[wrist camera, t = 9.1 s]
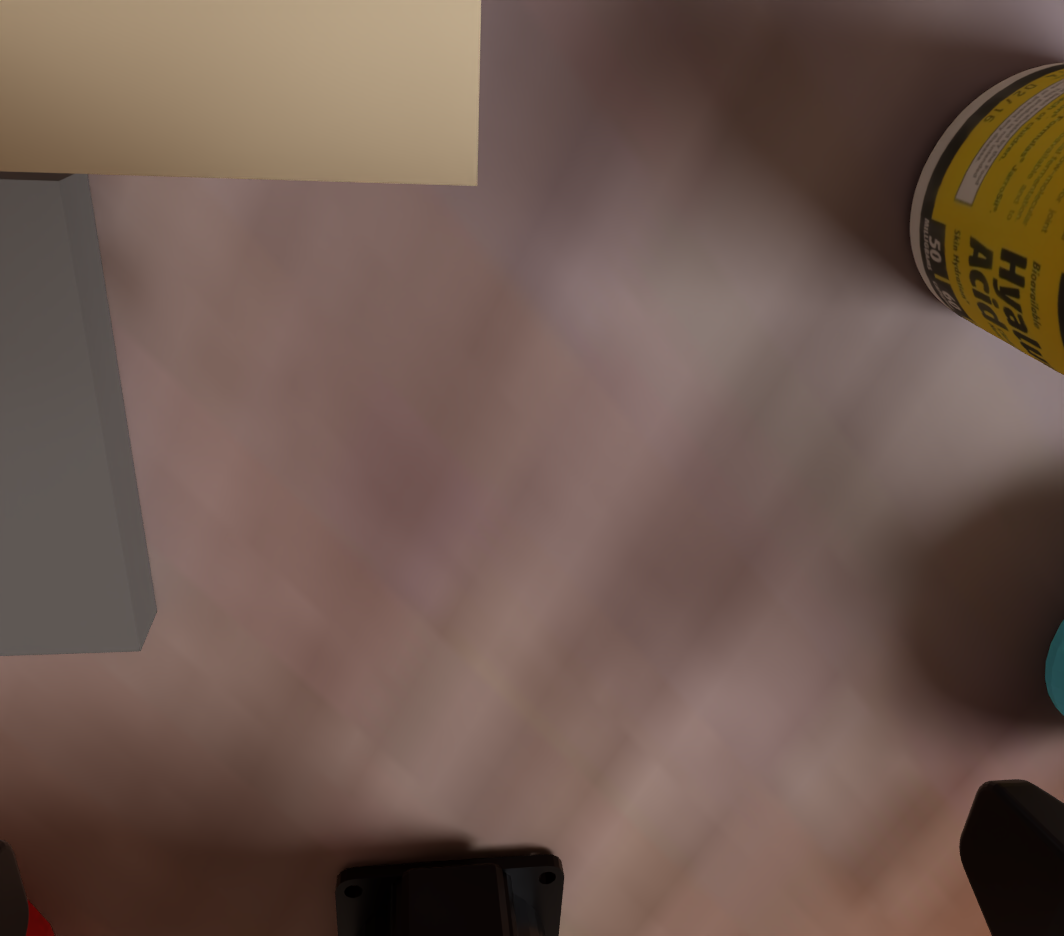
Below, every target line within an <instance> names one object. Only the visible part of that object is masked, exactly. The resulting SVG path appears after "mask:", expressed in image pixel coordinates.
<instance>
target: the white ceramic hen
mask: <svg viewBox="0 0 1064 936" xmlns="http://www.w3.org/2000/svg"><path fill="white" fill-rule="evenodd" d="M27 900H28V899H27ZM28 906H29V921H28V928H27V933H26V936H54V933H53V930H52V928H51V925H50V924H49V923H48V922H47V920H46V919H45V918H44V917H43V916H42V915H41V914H40V913H39V911H38V910H37V909H36V908H35V907H34V906H33V905H32V904H31V903H30V901H29V900H28Z"/></svg>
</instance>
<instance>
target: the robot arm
mask: <svg viewBox="0 0 1064 936" xmlns="http://www.w3.org/2000/svg"><path fill="white" fill-rule="evenodd" d="M959 848H960V856H961V861H962V864H963V867H964V870H965V872H966V875H967V877H968V879H969V882H970V884H971V887H972V889H973V891H974V894H975V896H976V899H977V901H978V903H979V906H980V908H981V911H982V913H983V915H984V918H985V920H986V923H987V925H988V928H989V930H990V932H991V935H992V936H1064V803H1062V802H1061V801H1059V800H1058V799H1056V798H1055V797H1053V796H1051V795H1050V794H1048V793H1047V792H1045V791H1044V790H1042V789H1040V788H1039V787H1037V786H1036V785H1034V784H1032V783H1030V782H1028V781H1025V780H1019V779H1014V780H997V781H988V782H985V783H984V784H983V785H981V786H980V787H979V789H978V791H977V793H976V796H975V799H974V801H973V804H972V807H971V809H970V812H969V815H968V818H967V820H966V823H965V826H964V829H963V831H962V834H961V838H960V846H959ZM563 884H564V873H563V868H562V862H561V860H560V859H559V858H558V857H556V856H554V855H548V854H544V855H529V856H514V857H499V858H484V859H469V860H454V861H439V862H424V863H409V864H394V865H379V866H364V867H352V868H347V869H345V870H343V871H341V872H340V874H339V875H338V876H337V880H336V891H335V895H336V911H337V926H338V936H559V925H560V915H561V905H562V894H563ZM352 885H356V886H352ZM28 921H29V906H28V900H27V897H26V893H25V890H24V886H23V882H22V879H21V875H20V872H19V868H18V865H17V861H16V858H15V854H14V851H13V849H12V847H11V845H10V844H9V843H8V842H6V841H5V840H0V936H26V933H27V928H28Z"/></svg>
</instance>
